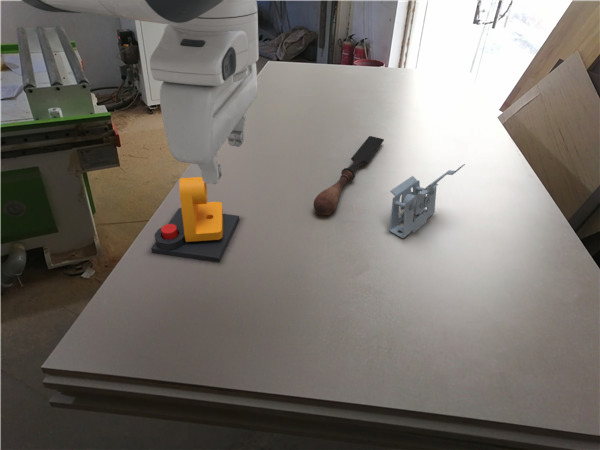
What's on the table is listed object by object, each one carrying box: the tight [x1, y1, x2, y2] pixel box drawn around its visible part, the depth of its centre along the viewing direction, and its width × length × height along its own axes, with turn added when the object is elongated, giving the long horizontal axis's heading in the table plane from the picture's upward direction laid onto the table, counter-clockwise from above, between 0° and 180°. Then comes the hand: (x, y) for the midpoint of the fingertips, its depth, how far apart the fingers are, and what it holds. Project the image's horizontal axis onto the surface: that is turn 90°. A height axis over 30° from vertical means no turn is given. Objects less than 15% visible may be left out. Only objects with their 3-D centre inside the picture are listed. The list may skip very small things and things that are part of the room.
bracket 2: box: [388, 163, 466, 239], centre depth 86 cm, size 13×10×15 cm
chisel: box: [313, 135, 385, 216], centre depth 105 cm, size 5×43×5 cm, turn 154°
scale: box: [150, 207, 240, 263], centre depth 85 cm, size 14×14×3 cm
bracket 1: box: [178, 176, 224, 242], centre depth 82 cm, size 11×7×12 cm, turn 8°
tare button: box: [160, 223, 178, 240], centre depth 81 cm, size 3×3×2 cm
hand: (225, 160), depth 50 cm, fingers open, 8 cm apart
